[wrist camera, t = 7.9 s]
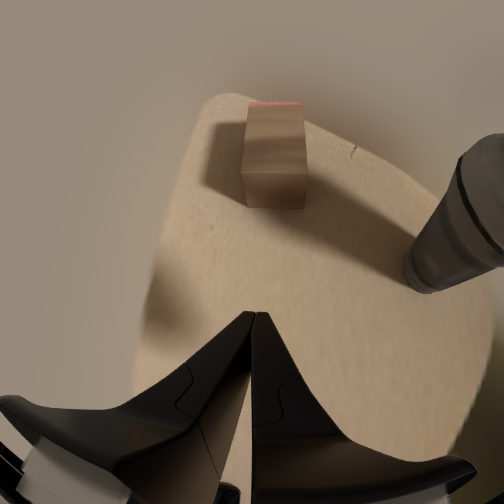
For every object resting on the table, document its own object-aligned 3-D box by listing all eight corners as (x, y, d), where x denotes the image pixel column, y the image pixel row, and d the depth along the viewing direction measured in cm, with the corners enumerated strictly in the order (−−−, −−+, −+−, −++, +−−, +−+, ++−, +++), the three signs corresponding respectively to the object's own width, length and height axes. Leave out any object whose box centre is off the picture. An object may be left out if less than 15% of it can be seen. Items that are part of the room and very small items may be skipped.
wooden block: (307, 173, 19) (302, 102, 23) (240, 173, 20) (249, 102, 23) (303, 208, 24) (300, 138, 27) (247, 207, 25) (254, 137, 28)
